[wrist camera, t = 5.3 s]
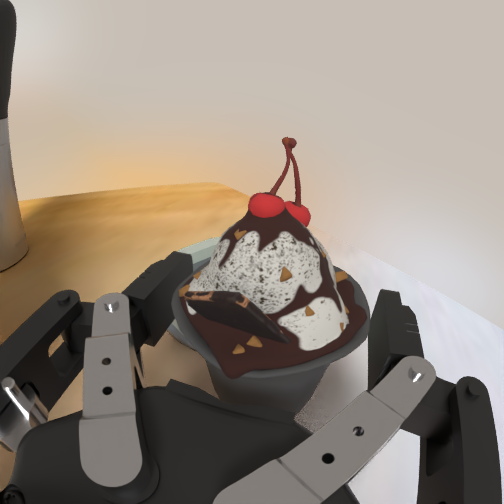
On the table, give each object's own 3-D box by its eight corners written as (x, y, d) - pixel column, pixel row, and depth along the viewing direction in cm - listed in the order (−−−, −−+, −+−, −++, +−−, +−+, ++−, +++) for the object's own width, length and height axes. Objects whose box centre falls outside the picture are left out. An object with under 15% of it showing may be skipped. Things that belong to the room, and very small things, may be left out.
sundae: (281, 379, 19) (315, 132, 12) (335, 458, 13) (456, 178, 6) (183, 406, 16) (148, 134, 9) (221, 503, 11) (189, 184, 4)
